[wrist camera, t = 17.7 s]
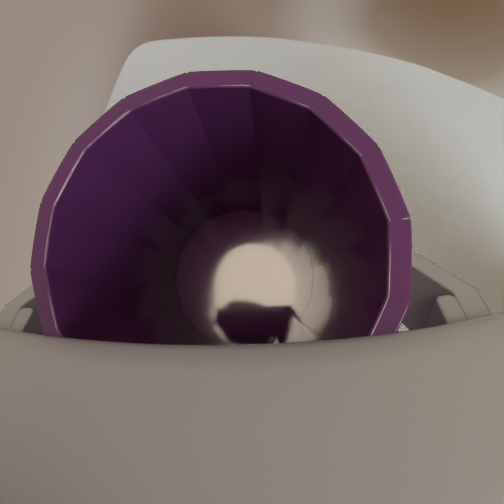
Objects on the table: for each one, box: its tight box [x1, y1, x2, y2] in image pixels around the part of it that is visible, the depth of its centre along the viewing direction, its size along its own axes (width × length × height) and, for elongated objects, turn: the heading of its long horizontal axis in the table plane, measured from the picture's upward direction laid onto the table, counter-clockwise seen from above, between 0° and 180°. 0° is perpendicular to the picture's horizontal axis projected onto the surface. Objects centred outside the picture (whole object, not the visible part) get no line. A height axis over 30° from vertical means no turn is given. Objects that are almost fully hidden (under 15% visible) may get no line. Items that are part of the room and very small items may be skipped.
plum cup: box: [31, 70, 412, 345], centre depth 10 cm, size 7×7×10 cm
